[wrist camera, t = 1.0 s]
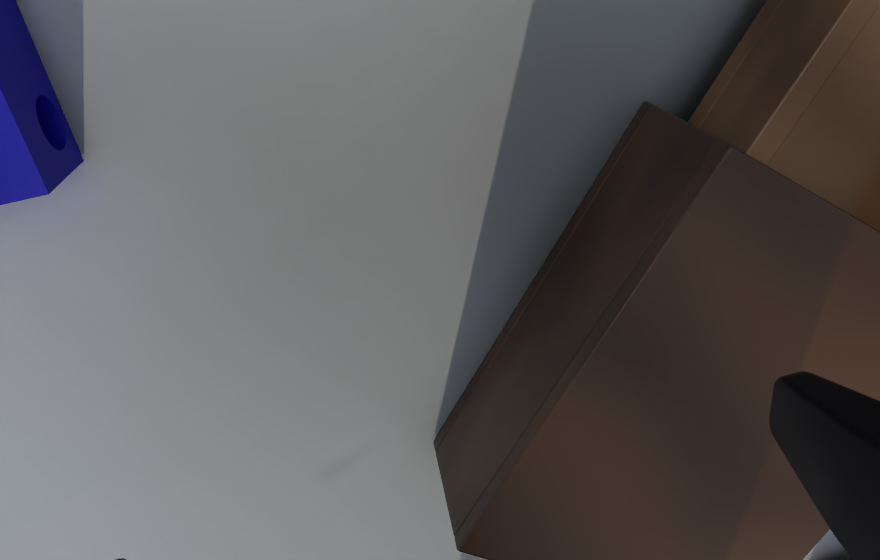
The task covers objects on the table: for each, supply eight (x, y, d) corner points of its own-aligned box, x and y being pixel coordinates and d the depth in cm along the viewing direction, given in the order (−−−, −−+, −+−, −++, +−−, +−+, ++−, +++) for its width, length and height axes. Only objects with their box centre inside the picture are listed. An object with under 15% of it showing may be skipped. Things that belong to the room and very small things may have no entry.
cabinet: (644, 100, 23) (731, 144, 18) (894, 245, 27) (1022, 315, 22) (432, 442, 27) (456, 551, 22) (672, 525, 31) (737, 634, 26)
